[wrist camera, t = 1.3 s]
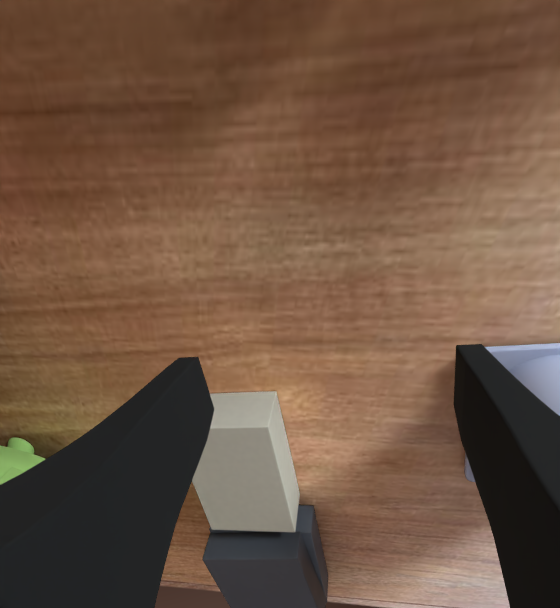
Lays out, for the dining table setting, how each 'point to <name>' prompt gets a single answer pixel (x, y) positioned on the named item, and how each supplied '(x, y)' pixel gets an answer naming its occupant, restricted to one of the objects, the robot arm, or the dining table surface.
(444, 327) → the dining table surface
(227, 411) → the white book
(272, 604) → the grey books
